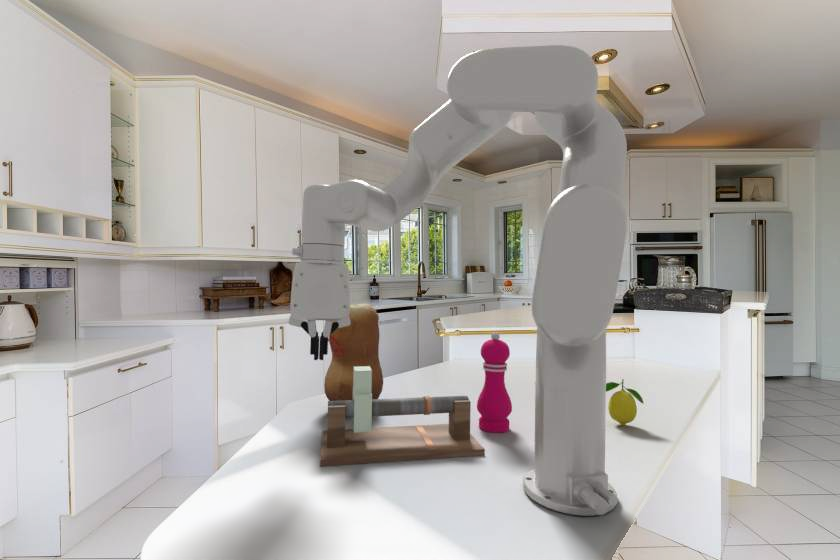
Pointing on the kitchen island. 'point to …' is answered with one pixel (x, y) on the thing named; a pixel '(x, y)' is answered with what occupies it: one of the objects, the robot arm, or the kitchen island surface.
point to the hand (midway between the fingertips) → (318, 358)
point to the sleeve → (362, 399)
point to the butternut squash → (354, 354)
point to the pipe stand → (399, 432)
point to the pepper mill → (494, 387)
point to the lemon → (622, 403)
